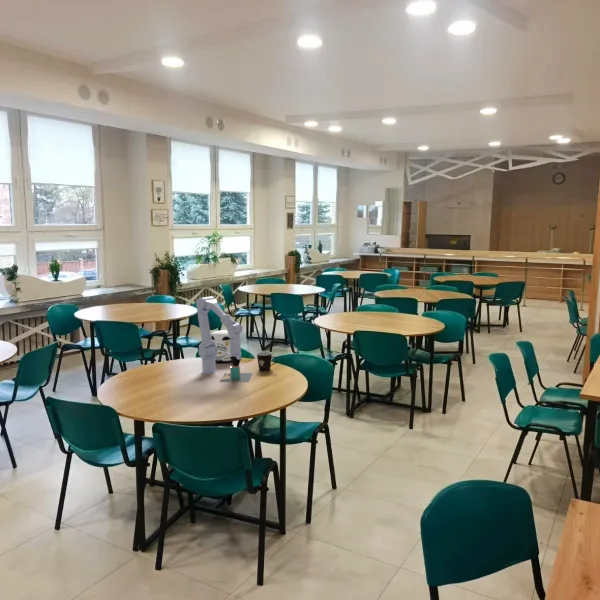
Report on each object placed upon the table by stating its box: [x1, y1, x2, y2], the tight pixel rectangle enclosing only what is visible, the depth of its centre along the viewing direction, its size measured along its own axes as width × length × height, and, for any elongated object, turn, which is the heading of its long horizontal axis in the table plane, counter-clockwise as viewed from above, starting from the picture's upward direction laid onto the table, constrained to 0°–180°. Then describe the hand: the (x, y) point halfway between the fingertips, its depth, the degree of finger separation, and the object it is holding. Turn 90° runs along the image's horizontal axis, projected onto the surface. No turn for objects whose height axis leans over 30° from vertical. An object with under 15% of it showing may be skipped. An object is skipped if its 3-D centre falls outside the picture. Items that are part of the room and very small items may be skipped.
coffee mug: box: [256, 351, 278, 372], centre depth 317 cm, size 12×9×10 cm
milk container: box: [210, 329, 232, 363], centre depth 342 cm, size 17×17×18 cm
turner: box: [220, 371, 231, 381], centre depth 305 cm, size 14×4×1 cm, turn 177°
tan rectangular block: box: [229, 365, 241, 379], centre depth 300 cm, size 2×5×7 cm, turn 88°
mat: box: [219, 372, 253, 383], centre depth 303 cm, size 18×16×1 cm
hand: (236, 369), depth 302 cm, fingers closed
